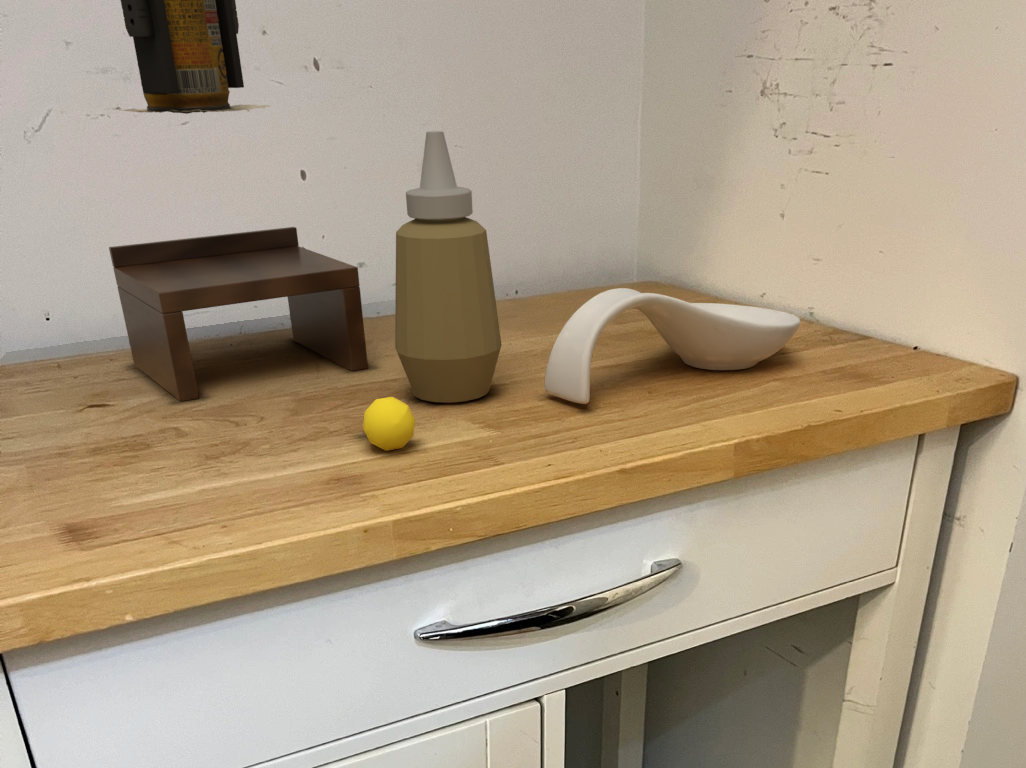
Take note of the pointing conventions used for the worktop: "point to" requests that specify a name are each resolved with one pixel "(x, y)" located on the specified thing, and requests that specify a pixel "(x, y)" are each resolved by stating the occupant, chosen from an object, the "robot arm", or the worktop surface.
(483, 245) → the squeeze bottle
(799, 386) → the worktop surface
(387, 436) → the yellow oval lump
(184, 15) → the condiment
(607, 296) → the spoon rest
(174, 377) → the walnut shelf
